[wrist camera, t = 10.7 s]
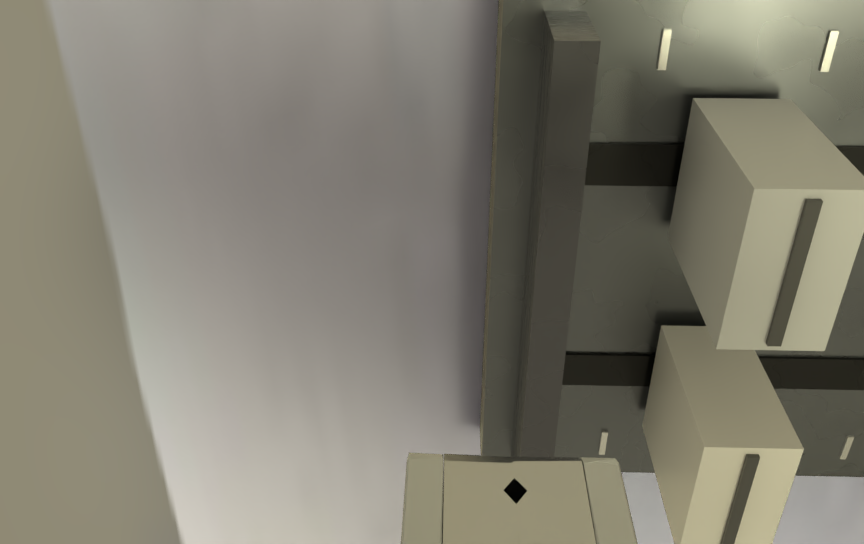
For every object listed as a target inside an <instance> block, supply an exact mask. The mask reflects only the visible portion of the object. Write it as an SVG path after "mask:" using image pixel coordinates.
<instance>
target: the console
mask: <svg viewBox="0 0 864 544" xmlns="http://www.w3.org/2000/svg"><path fill="white" fill-rule="evenodd" d="M693 98H741V99H791V100H792V101H793V103H794V104H795V105H796V106H797V107H798V108H799V109H800V110H801V111H802V112H803V113H804V114H805V115H806V116H807V117H808V118H809V119H810V120H811V121H812V122H813V123H814V124H815V126H816V127H817V128H818V129H819V130H820V131H821V132H822V133H823V134H824V135H825V136H826V137H827V138H828V139H829V140H830V141H831V142H832V143H833V144H834V145H835V146H836V147H837V149H838V150H839V151H840V152H841V153H842V154H843V155H844V156H845V157H846V158H847V159H848V160H849V161H850V162H851V163H852V164H853V165H854V166H855V167H856V168H857V169H858V171H859V172H860V173H861V174H862V175H863V176H864V0H499V6H498V29H497V52H496V74H495V97H494V119H493V142H492V165H491V187H490V210H489V233H488V255H487V278H486V301H485V323H484V346H483V369H482V391H481V414H480V447H481V456H499V457H511V456H514V457H578V458H579V459H580V458H581V457H586V458H615V459H616V460H617V461H618V462H619V465H620V469H621V472H648V473H655V471H654V467H653V463H652V460H651V456H650V452H649V449H648V445H647V442H646V438H645V434H644V431H643V427H642V425H643V419H644V414H645V409H646V403H647V398H648V393H649V388H650V382H651V377H652V372H653V366H654V361H655V356H656V350H657V345H658V340H659V334H660V329H661V325H667V326H706V324H705V322H704V320H703V317H702V315H701V313H700V311H699V308H698V306H697V304H696V301H695V299H694V297H693V294H692V292H691V290H690V287H689V285H688V283H687V280H686V278H685V276H684V274H683V271H682V269H681V267H680V264H679V262H678V260H677V257H676V255H675V253H674V250H673V248H672V246H671V244H670V241H669V239H668V233H669V227H670V222H671V216H672V211H673V205H674V200H675V194H676V189H677V183H678V178H679V172H680V166H681V161H682V155H683V150H684V144H685V139H686V133H687V128H688V122H689V117H690V111H691V106H692V100H693ZM755 352H756V354H757V356H758V358H759V360H760V362H761V364H762V366H763V368H764V370H765V372H766V374H767V376H768V378H769V380H770V382H771V384H772V386H773V388H774V390H775V392H776V394H777V396H778V398H779V400H780V402H781V404H782V406H783V408H784V410H785V412H786V414H787V416H788V418H789V420H790V422H791V424H792V426H793V428H794V430H795V432H796V434H797V436H798V438H799V440H800V442H801V444H802V446H803V448H804V450H803V453H802V456H801V459H800V462H799V465H798V468H797V471H796V474H795V475H797V476H847V477H864V233H863V236H862V239H861V242H860V245H859V248H858V251H857V254H856V257H855V260H854V263H853V266H852V269H851V272H850V275H849V278H848V281H847V285H846V288H845V291H844V294H843V297H842V300H841V303H840V306H839V309H838V312H837V315H836V318H835V321H834V324H833V327H832V330H831V333H830V336H829V339H828V342H827V345H826V349H825V351H788V350H755Z"/></svg>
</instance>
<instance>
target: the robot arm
mask: <svg viewBox="0 0 864 544" xmlns="http://www.w3.org/2000/svg"><path fill="white" fill-rule="evenodd" d="M401 544H637V539H636V535H635V530H634V526H633V522H632V517H631V513H630V509H629V504H628V500H627V495H626V491H625V487H624V482H623V478H622V474H621V469H620V465H619V462H618V461H617V460H616V459H615V458H586V457H581V458H580V459H579V458H578V457H514V456H511V457H499V456H479V455H458V454H444V480H443V454H423V453H409V455H408V459H407V466H406V480H405V494H404V508H403V522H402V536H401Z"/></svg>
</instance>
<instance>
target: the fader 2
mask: <svg viewBox="0 0 864 544" xmlns="http://www.w3.org/2000/svg"><path fill="white" fill-rule="evenodd" d="M642 427H643V431H644V434H645V438H646V442H647V445H648V449H649V452H650V456H651V460H652V463H653V467H654V471H655V474H656V478H657V482H658V485H659V489H660V493H661V496H662V500H663V504H664V507H665V511H666V514H667V518H668V522H669V525H670V529H671V533H672V536H673V540H674V544H772V542H773V539H774V536H775V533H776V530H777V527H778V524H779V521H780V518H781V515H782V513H783V510H784V507H785V504H786V501H787V498H788V495H789V492H790V489H791V486H792V483H793V480H794V477H795V474H796V471H797V468H798V465H799V462H800V459H801V456H802V453H803V450H804V448H803V446H802V444H801V442H800V440H799V438H798V436H797V434H796V432H795V430H794V428H793V426H792V424H791V422H790V420H789V418H788V416H787V414H786V412H785V410H784V408H783V406H782V404H781V402H780V400H779V398H778V396H777V394H776V392H775V390H774V388H773V386H772V384H771V382H770V380H769V378H768V376H767V374H766V372H765V370H764V368H763V366H762V364H761V362H760V360H759V358H758V356H757V354H756V352H755V350H728V349H716V347H715V345H714V343H713V341H712V338H711V336H710V334H709V331H708V329H707V327H706V326H667V325H661V329H660V334H659V340H658V345H657V350H656V356H655V361H654V366H653V372H652V377H651V382H650V388H649V393H648V398H647V403H646V409H645V414H644V419H643V425H642Z"/></svg>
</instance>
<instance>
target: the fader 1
mask: <svg viewBox="0 0 864 544" xmlns="http://www.w3.org/2000/svg"><path fill="white" fill-rule="evenodd" d="M863 233H864V176H863V175H862V174H861V173H860V172H859V171H858V169H857V168H856V167H855V166H854V165H853V164H852V163H851V162H850V161H849V160H848V159H847V158H846V157H845V156H844V155H843V154H842V153H841V152H840V151H839V150H838V149H837V147H836V146H835V145H834V144H833V143H832V142H831V141H830V140H829V139H828V138H827V137H826V136H825V135H824V134H823V133H822V132H821V131H820V130H819V129H818V128H817V127H816V126H815V124H814V123H813V122H812V121H811V120H810V119H809V118H808V117H807V116H806V115H805V114H804V113H803V112H802V111H801V110H800V109H799V108H798V107H797V106H796V105H795V104H794V103H793V101H792V100H791V99H741V98H693V100H692V106H691V111H690V117H689V122H688V128H687V133H686V139H685V144H684V150H683V155H682V161H681V166H680V172H679V178H678V183H677V189H676V194H675V200H674V205H673V211H672V216H671V222H670V227H669V233H668V239H669V241H670V244H671V246H672V248H673V250H674V253H675V255H676V257H677V260H678V262H679V264H680V267H681V269H682V271H683V274H684V276H685V278H686V280H687V283H688V285H689V287H690V290H691V292H692V294H693V297H694V299H695V301H696V304H697V306H698V308H699V311H700V313H701V315H702V317H703V320H704V322H705V324H706V327H707V329H708V331H709V334H710V336H711V338H712V341H713V343H714V345H715V347H716V349H728V350H788V351H825V349H826V345H827V342H828V339H829V336H830V333H831V330H832V327H833V324H834V321H835V318H836V315H837V312H838V309H839V306H840V303H841V300H842V297H843V294H844V291H845V288H846V285H847V281H848V278H849V275H850V272H851V269H852V266H853V263H854V260H855V257H856V254H857V251H858V248H859V245H860V242H861V239H862V236H863Z"/></svg>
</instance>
